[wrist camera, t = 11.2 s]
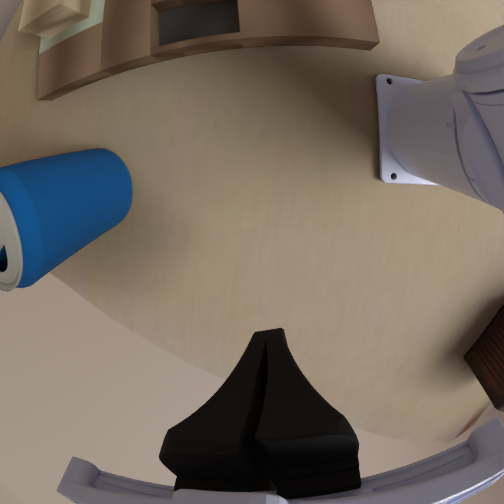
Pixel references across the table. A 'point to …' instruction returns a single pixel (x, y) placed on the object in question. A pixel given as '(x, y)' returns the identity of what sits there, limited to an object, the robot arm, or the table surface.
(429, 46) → the table surface
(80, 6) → the block
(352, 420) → the table surface
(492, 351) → the coffee grinder
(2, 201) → the beverage can
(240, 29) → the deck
